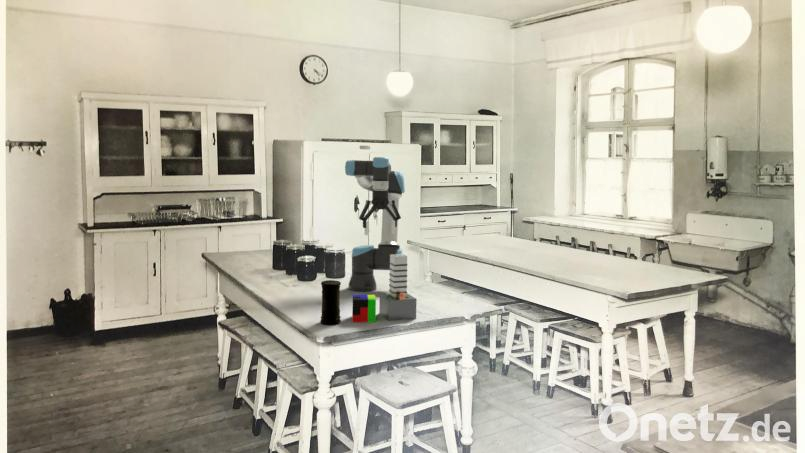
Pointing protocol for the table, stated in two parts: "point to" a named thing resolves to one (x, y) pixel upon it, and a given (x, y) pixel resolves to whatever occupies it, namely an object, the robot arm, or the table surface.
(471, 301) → the table surface
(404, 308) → the housing
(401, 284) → the column
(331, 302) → the container
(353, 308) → the puzzle toy
